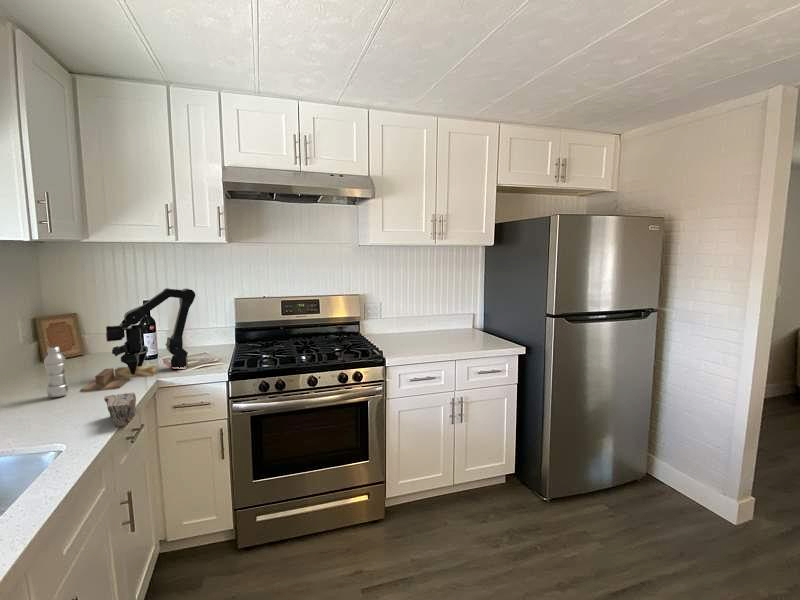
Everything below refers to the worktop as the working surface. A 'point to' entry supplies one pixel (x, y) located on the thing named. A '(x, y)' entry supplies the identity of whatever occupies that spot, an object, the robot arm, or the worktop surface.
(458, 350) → the worktop surface
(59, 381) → the plastic bottle
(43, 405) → the worktop surface
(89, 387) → the walnut board
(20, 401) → the worktop surface
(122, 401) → the stone block
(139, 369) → the oak bar
